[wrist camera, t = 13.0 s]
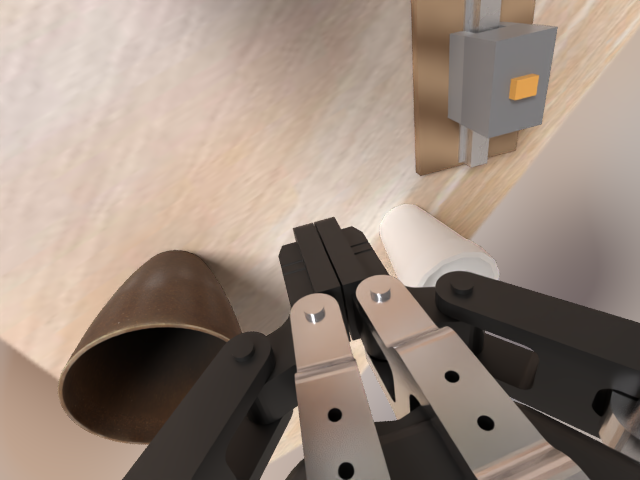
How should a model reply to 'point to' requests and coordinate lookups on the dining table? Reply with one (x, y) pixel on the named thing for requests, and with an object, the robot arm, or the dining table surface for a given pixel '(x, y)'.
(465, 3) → the rail
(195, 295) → the plant pot
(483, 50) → the block
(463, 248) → the foam cup
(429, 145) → the board
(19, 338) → the dining table surface
